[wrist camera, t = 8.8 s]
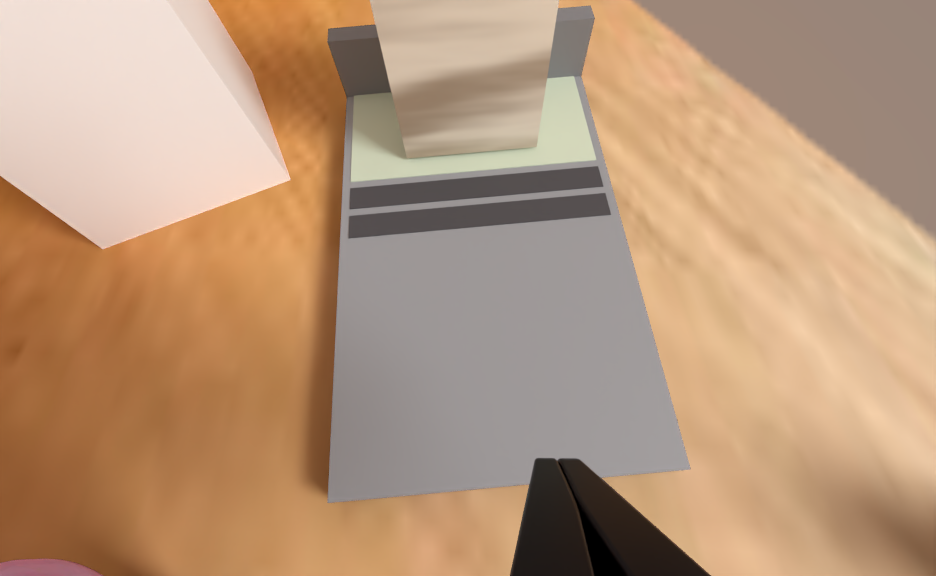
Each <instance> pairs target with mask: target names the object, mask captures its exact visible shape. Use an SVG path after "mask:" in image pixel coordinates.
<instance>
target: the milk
mask: <svg viewBox="0 0 936 576" xmlns="http://www.w3.org/2000/svg"><path fill="white" fill-rule="evenodd" d="M0 176H1V177H3V178H4V179H5V180H7V181H8V182H10V183H11V184H12V185H14V186H15V187H17V188H18V189H19V190H21V191H22V192H24V193H25V194H26V195H28V196H29V197H31V198H32V199H33V200H35V201H36V202H38V203H39V204H40V205H42V206H43V207H45V208H46V209H47V210H49V211H50V212H51V213H53V214H54V215H56V216H57V217H58V218H60V219H61V220H63V221H64V222H65V223H67V224H68V225H70V226H71V227H72V228H74V229H75V230H77V231H78V232H79V233H81V234H82V235H84V236H85V237H86V238H88V239H89V240H91V241H92V242H93V243H95V244H96V245H97V246H99V247H100V248H102V249H105V248H107V247H110V246H113V245H116V244H118V243H121V242H124V241H126V240H129V239H132V238H135V237H137V236H140V235H143V234H145V233H148V232H151V231H154V230H156V229H159V228H162V227H164V226H167V225H170V224H172V223H175V222H178V221H181V220H183V219H186V218H189V217H191V216H194V215H197V214H200V213H202V212H205V211H208V210H210V209H213V208H216V207H219V206H221V205H224V204H227V203H229V202H232V201H235V200H238V199H240V198H243V197H246V196H248V195H251V194H254V193H257V192H259V191H262V190H265V189H267V188H270V187H273V186H276V185H278V184H281V183H284V182H286V181H289V180H291V179H290V176H289V174H288V171H287V168H286V165H285V162H284V160H283V157H282V154H281V151H280V148H279V146H278V143H277V140H276V137H275V135H274V132H273V129H272V126H271V123H270V121H269V118H268V115H267V112H266V109H265V107H264V104H263V101H262V98H261V96H260V93H259V90H258V87H257V84H256V82H255V79H254V76H253V73H252V71H251V69H250V68H249V66H248V64H247V63H246V61H245V60H244V58H243V56H242V55H241V53H240V51H239V50H238V48H237V47H236V45H235V43H234V42H233V40H232V38H231V37H230V35H229V34H228V32H227V30H226V29H225V27H224V25H223V24H222V22H221V21H220V19H219V17H218V16H217V14H216V13H215V11H214V9H213V8H212V6H211V4H210V3H209V1H208V0H0Z"/></svg>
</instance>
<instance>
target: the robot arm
mask: <svg viewBox="0 0 936 576" xmlns="http://www.w3.org/2000/svg"><path fill="white" fill-rule="evenodd" d="M510 576H711V575H710V574H708V573H707V572H706V571H705V570H704V569H703V568H702V567H701V566H699V565H698V564H697V563H696V562H695V561H694V560H693V559H692V558H690V557H689V556H688V555H687V554H686V553H685V552H684V551H683V550H681V549H680V548H679V547H678V546H677V545H676V544H675V543H674V542H672V541H671V540H670V539H669V538H668V537H667V536H666V535H665V534H663V533H662V532H661V531H660V530H659V529H658V528H657V527H656V526H654V525H653V524H652V523H651V522H650V521H649V520H648V519H647V518H645V517H644V516H643V515H642V514H641V513H640V512H639V511H638V510H636V509H635V508H634V507H633V506H632V505H631V504H630V503H629V502H627V501H626V500H625V499H624V498H623V497H622V496H621V495H620V494H618V493H617V492H616V491H615V490H614V489H613V488H612V487H611V486H609V485H608V484H607V483H606V482H605V481H604V480H603V479H602V478H600V477H599V476H598V475H597V474H596V473H595V472H594V471H593V470H591V469H590V468H589V467H588V466H587V465H586V464H585V463H584V462H582V461H581V460H580V459H577V458H559V459H558V460H556V459H555V458H536V459H535V461H534V465H533V470H532V475H531V479H530V484H529V489H528V493H527V498H526V503H525V507H524V512H523V517H522V521H521V526H520V531H519V535H518V540H517V545H516V550H515V554H514V559H513V564H512V568H511V573H510Z"/></svg>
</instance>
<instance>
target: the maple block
mask: <svg viewBox="0 0 936 576" xmlns="http://www.w3.org/2000/svg"><path fill="white" fill-rule="evenodd" d="M370 3H371V7H372V12H373V16H374V20H375V24H376V29H377V33H378V37H379V41H380V46H381V50H382V54H383V59H384V63H385V67H386V71H387V76H388V80H389V84H390V88H391V93H392V97H393V101H394V105H395V110H396V114H397V118H398V123H399V127H400V131H401V135H402V140H403V144H404V148H405V152H406V157H407V158H418V157H429V156H441V155H452V154H463V153H474V152H485V151H496V150H508V149H519V148H530V147H537V141H538V135H539V128H540V121H541V115H542V108H543V102H544V95H545V89H546V82H547V76H548V69H549V63H550V56H551V50H552V43H553V37H554V30H555V24H556V17H557V11H558V4H559V0H370Z"/></svg>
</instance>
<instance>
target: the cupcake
mask: <svg viewBox="0 0 936 576" xmlns="http://www.w3.org/2000/svg"><path fill="white" fill-rule="evenodd" d="M0 576H103V575H101V574H100V573H98V572H96V571H94V570H92V569H90V568H88V567H86V566H83V565H80V564H78V563H75V562H70V561H66V560H60V559H21V560H12V561H7V562H2V563H0Z"/></svg>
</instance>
